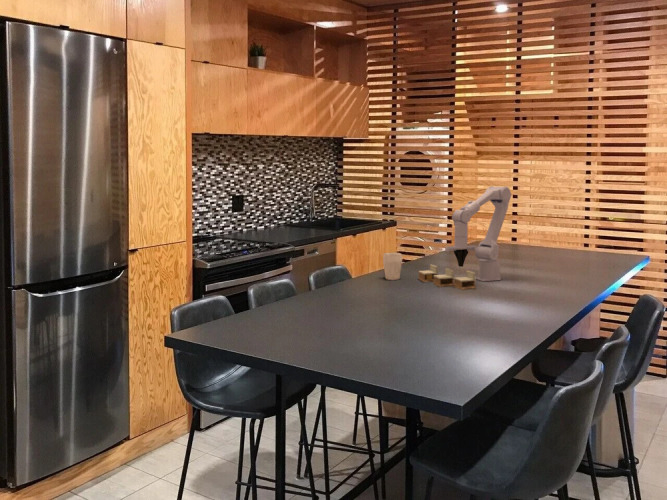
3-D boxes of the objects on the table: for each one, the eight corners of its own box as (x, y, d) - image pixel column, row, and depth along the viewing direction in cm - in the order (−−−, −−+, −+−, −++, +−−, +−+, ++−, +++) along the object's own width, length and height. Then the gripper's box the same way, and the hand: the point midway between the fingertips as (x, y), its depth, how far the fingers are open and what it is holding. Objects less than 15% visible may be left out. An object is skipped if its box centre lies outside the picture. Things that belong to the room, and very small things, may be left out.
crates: (447, 277, 321) (447, 270, 321) (475, 288, 294) (475, 280, 293) (418, 279, 318) (418, 272, 317) (443, 290, 290) (443, 283, 290)
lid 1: (431, 271, 319) (431, 264, 319) (437, 273, 312) (437, 266, 312) (418, 272, 317) (418, 265, 317) (424, 274, 311) (424, 267, 310)
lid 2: (447, 275, 307) (447, 268, 307) (453, 278, 301) (453, 270, 300) (433, 276, 305) (433, 269, 305) (439, 279, 299) (439, 271, 298)
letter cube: (429, 279, 317) (428, 273, 317) (432, 280, 315) (432, 274, 314) (423, 280, 316) (423, 274, 316) (427, 281, 313) (427, 275, 313)
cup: (401, 280, 316) (400, 255, 314) (382, 280, 318) (381, 255, 316) (403, 277, 325) (402, 252, 323) (384, 276, 327) (384, 252, 325)
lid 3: (468, 278, 300) (468, 270, 299) (475, 280, 293) (475, 272, 293) (454, 279, 298) (454, 271, 298) (460, 281, 292) (461, 273, 291)
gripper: (471, 234, 308) (471, 264, 310) (442, 236, 305) (442, 265, 306) (478, 236, 302) (478, 266, 303) (449, 237, 298) (448, 268, 300)
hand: (460, 266), depth 304 cm, fingers closed
